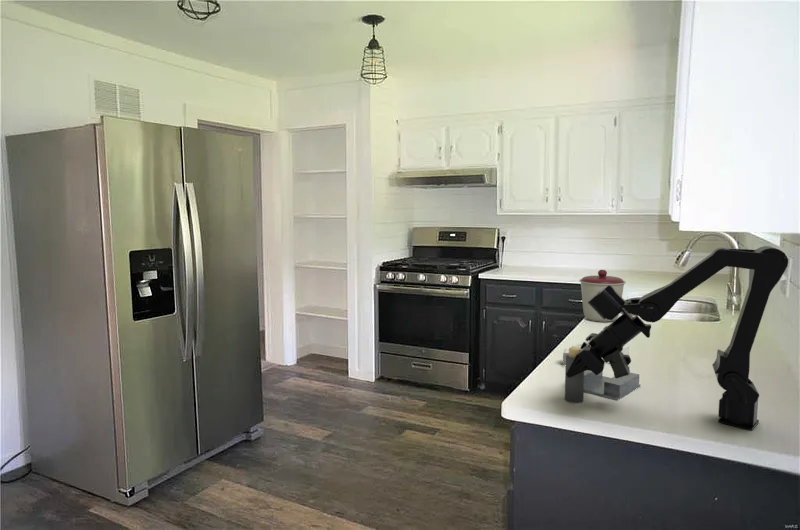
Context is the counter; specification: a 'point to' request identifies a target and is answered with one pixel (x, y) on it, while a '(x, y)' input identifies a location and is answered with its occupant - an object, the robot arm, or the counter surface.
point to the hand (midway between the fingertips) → (568, 373)
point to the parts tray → (624, 351)
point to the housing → (610, 384)
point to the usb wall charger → (566, 352)
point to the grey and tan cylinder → (573, 380)
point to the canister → (593, 286)
